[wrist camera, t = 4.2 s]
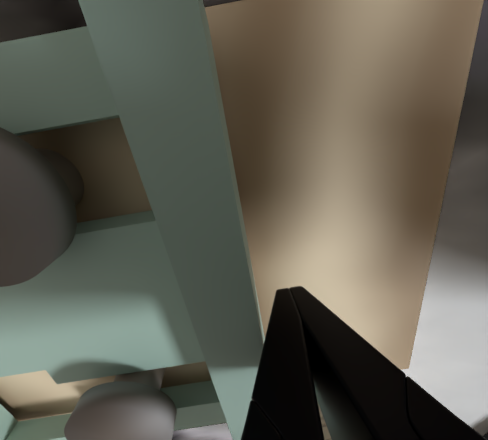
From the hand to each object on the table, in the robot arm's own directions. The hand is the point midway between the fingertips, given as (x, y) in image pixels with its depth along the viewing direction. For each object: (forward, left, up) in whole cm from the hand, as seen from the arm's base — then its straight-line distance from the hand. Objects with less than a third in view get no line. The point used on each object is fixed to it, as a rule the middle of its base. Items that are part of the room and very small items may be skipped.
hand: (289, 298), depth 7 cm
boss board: (+7, 0, -4) cm, 8 cm away
